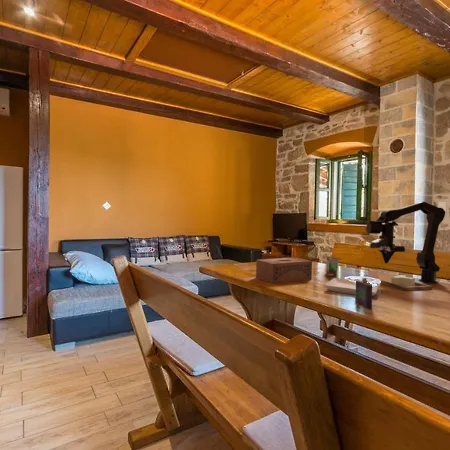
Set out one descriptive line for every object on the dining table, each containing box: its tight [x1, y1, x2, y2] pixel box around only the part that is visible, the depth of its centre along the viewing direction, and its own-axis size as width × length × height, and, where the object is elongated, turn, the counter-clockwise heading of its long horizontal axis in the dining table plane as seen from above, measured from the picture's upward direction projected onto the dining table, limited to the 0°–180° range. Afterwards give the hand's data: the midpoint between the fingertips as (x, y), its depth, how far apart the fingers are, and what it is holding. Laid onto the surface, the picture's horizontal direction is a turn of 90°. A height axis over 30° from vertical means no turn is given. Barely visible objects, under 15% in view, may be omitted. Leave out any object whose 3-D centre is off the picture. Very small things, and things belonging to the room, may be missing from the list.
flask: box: [354, 277, 373, 310], centre depth 122 cm, size 9×3×11 cm, turn 8°
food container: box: [325, 256, 340, 278], centre depth 182 cm, size 12×6×10 cm, turn 168°
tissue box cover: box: [255, 257, 313, 284], centre depth 170 cm, size 26×14×10 cm, turn 118°
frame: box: [380, 280, 433, 292], centre depth 158 cm, size 16×16×2 cm
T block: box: [390, 274, 416, 287], centre depth 160 cm, size 10×8×4 cm
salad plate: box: [324, 277, 381, 297], centre depth 147 cm, size 21×21×3 cm
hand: (386, 263), depth 170 cm, fingers closed
